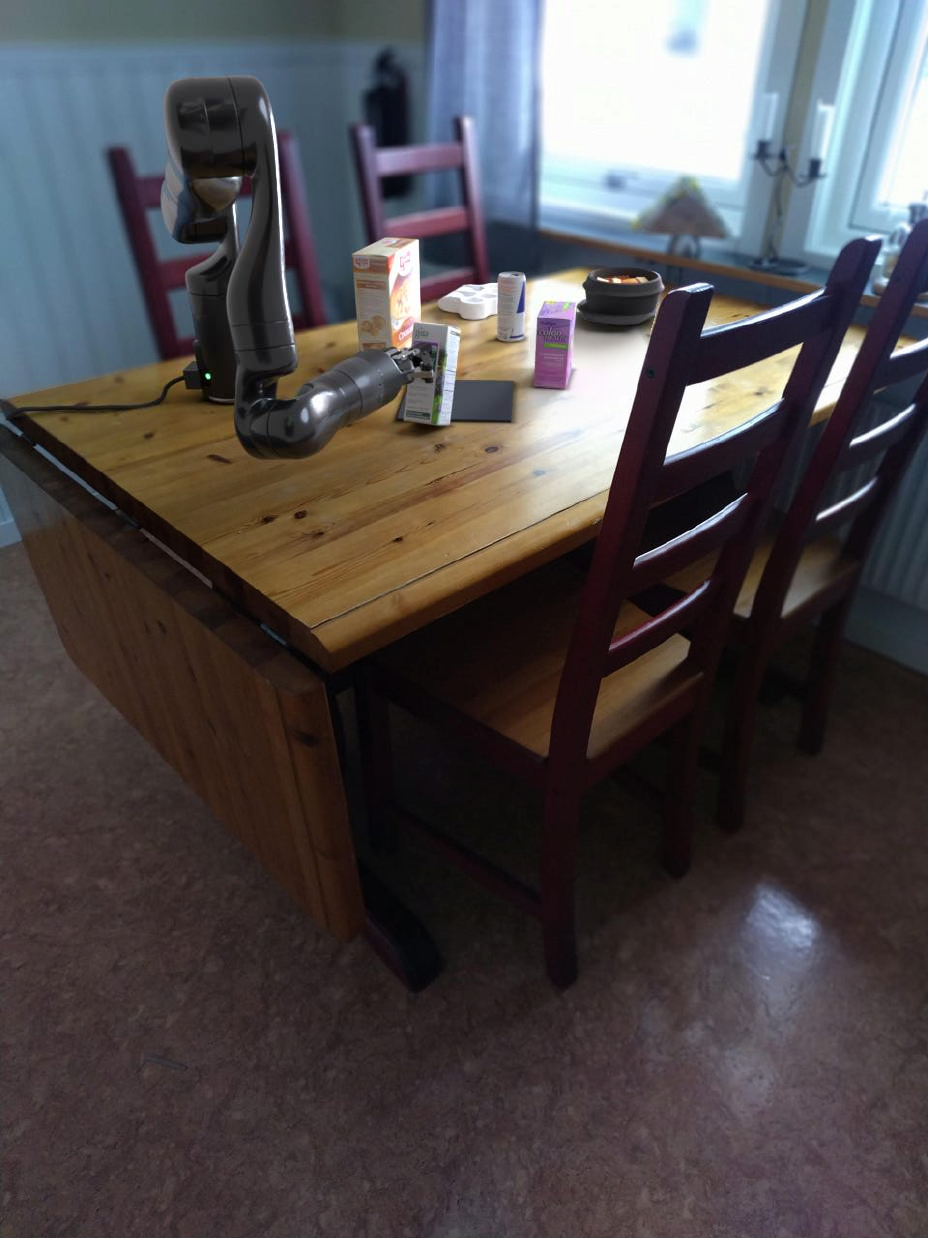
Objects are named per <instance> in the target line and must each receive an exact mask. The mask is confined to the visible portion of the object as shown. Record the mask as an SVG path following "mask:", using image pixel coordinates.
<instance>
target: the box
mask: <svg viewBox="0 0 928 1238" xmlns="http://www.w3.org/2000/svg"><path fill="white" fill-rule="evenodd" d="M577 305H578V303H577V302H574V301H563V300H562V301H561V300H559V301H558V300H544V301H543V303H542V305H541V308H540V310H539V313H538V315H537V317H536V332H535V349H534V371H533V372H534V373H533V387H534V388H545V389H558V390H559V389H561V390H566V389H567V386H568V383H569V382H568V381H569V378H570V375H571V373H572V369H573V357H574V356H573V353H574V339H575V327H576V316H577Z"/></svg>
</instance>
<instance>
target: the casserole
mask: <svg viewBox="0 0 928 1238" xmlns="http://www.w3.org/2000/svg"><path fill="white" fill-rule="evenodd" d="M581 287H582V289H583V290H584V292H585V298H584V299H582V300H580V301H579V302H578V303H577V305H576V310H578V311H579V312H580V313H581V314H582V318H583V319H584V320H586V321H589V322H592V323H597V324H602V325H603V324H605V325H615V326H632V325H633V326H634V325H639V324H641V323H643V322H645V321H647V320H650V319H654V318H656V317H655V313H656V309H657V306H658V304H659V302H660V297H661V293H662V292H663V291H664V290H665V288H666V286H665V284H664V283H663V281H662V276H661V274H659V273H657V272H656V271H653V270H651V269H645V268H639V267H630V266H629V267H628V266H616V267H615V266H614V267H613V266H612V267H604V268H598V269H595V270H592V271H590V272H588V274H587V276H586V278H585V280H584V281H583V282H582V284H581Z"/></svg>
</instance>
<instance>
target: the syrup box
mask: <svg viewBox="0 0 928 1238" xmlns="http://www.w3.org/2000/svg"><path fill="white" fill-rule="evenodd" d="M461 330H462V329H461V328H459V327H457V326H454V325H450V324H440V323H434V322H433V323H432V322H423V321H421V322H414V325H413V333H412V343H411V347H413V346H415V345H417V344H418V343H420V342H424V343H430V344H431V347H432V358H431V361H432V363H433V379H434V382H433V383H425V381H424V380H421V378H415V380H414V381H413V382H412V383H410V384H407V385H406V386H407V387H406V391H407V395H406V404H405V411H404V421H403V422H411V423H416V424H425V425H430V426H431V425H432V426H450V425H451V421H450V418H451V410H452V401H453V393H454V384H455V380H456V376H457V374H456V373H457V366H458V356H459V349H460V343H461V342H460V340H461V334H462V333H461V332H462V331H461Z"/></svg>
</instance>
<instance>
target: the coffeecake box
mask: <svg viewBox="0 0 928 1238" xmlns="http://www.w3.org/2000/svg"><path fill="white" fill-rule="evenodd" d="M419 241H420V240H419V239H416V238H403V237H387V236H386V237H383V238H381V239H380V240H377V241H376V242H374V243H371V244H370V245H367V246H365V247H363V248H361V249H360V250H358V251H355V252H353V253H351V258H352V259H351V260H352V271H353V274H352V275H353V285H354V286H353V287H354V299H355V300H354V301H355V313H356V325H357V339H358V352H360V351H364V350H367V349H382V348H389V347H397V350H399V349H402V348H404V347H407V348H411V343H412V333H413V325H414V322H422V314H421V284H420V283H421V282H420V280H421V279H420V278H421V277H420V251H419V250H420V249H419V248H420V247H419V243H420V242H419Z"/></svg>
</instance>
